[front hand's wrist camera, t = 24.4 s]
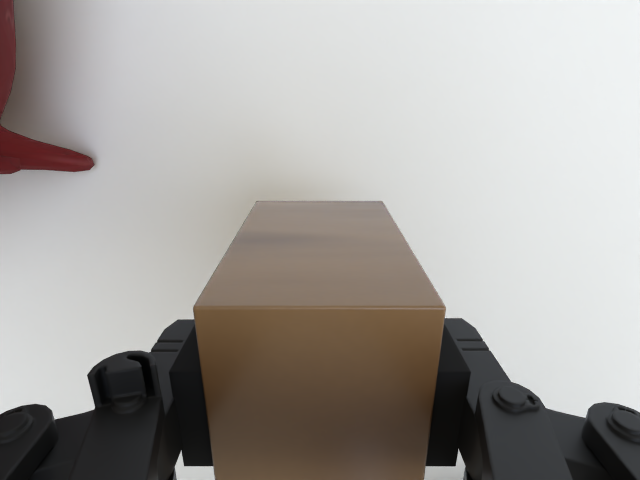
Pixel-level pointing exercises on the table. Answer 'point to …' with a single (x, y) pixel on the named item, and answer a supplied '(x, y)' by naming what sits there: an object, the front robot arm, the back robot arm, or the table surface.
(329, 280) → the block
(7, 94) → the dark red rounded piece
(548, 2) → the table surface
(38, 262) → the table surface
